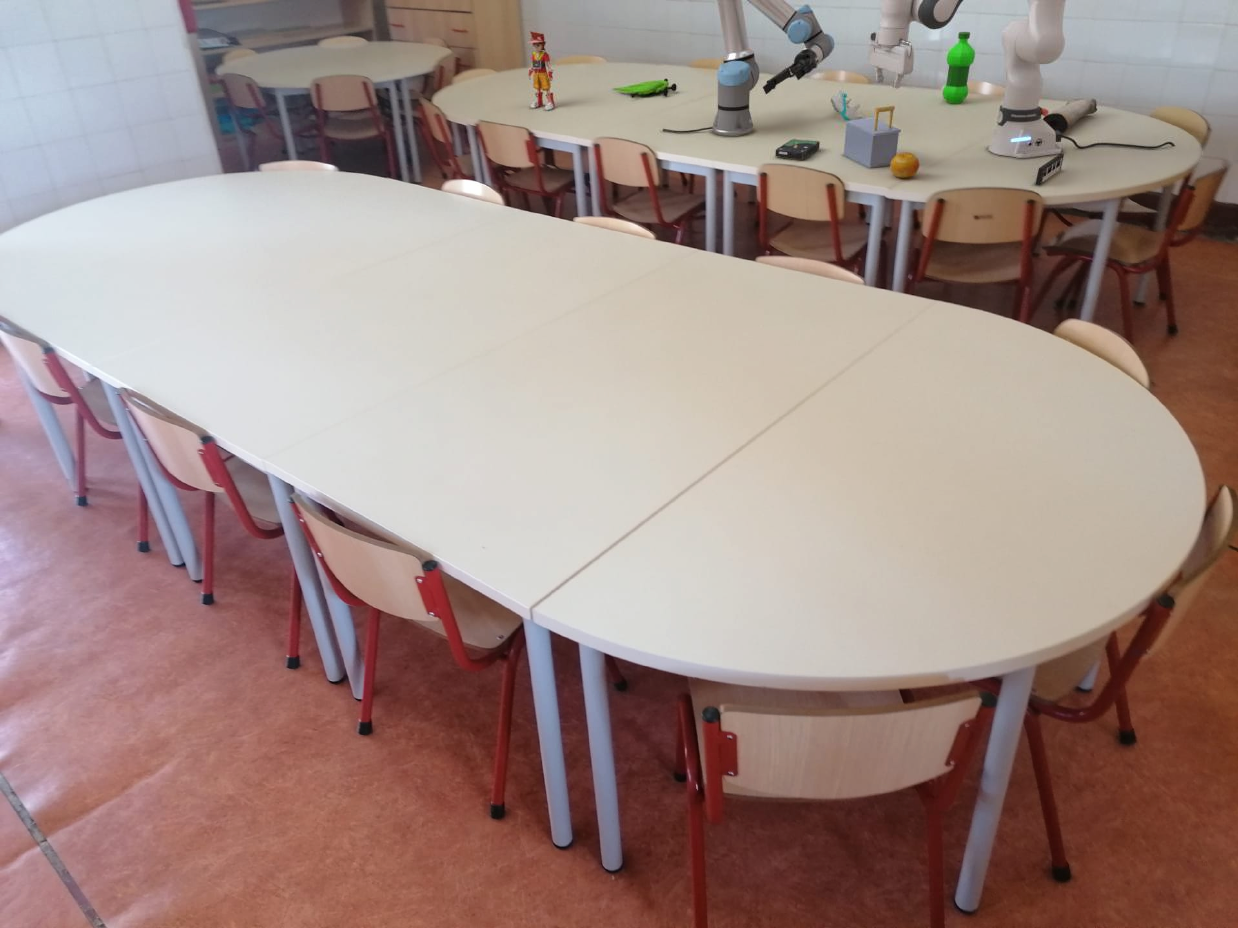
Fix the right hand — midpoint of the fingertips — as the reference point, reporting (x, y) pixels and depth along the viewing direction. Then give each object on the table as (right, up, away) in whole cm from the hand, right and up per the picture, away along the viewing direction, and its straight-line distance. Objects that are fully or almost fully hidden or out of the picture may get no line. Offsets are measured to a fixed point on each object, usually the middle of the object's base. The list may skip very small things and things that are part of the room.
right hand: (887, 85), depth 281 cm
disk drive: (-23, -12, +28) cm, 38 cm away
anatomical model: (+3, +15, +65) cm, 66 cm away
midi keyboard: (+47, -31, -6) cm, 57 cm away
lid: (-1, -9, +13) cm, 15 cm away
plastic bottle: (+48, +24, +74) cm, 92 cm away
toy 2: (-75, +46, +116) cm, 146 cm away
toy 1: (-117, +34, +102) cm, 159 cm away
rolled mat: (+77, +3, +41) cm, 87 cm away
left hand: (-29, +12, +26) cm, 41 cm away
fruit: (+6, -28, +2) cm, 29 cm away
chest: (-1, -17, +19) cm, 25 cm away
